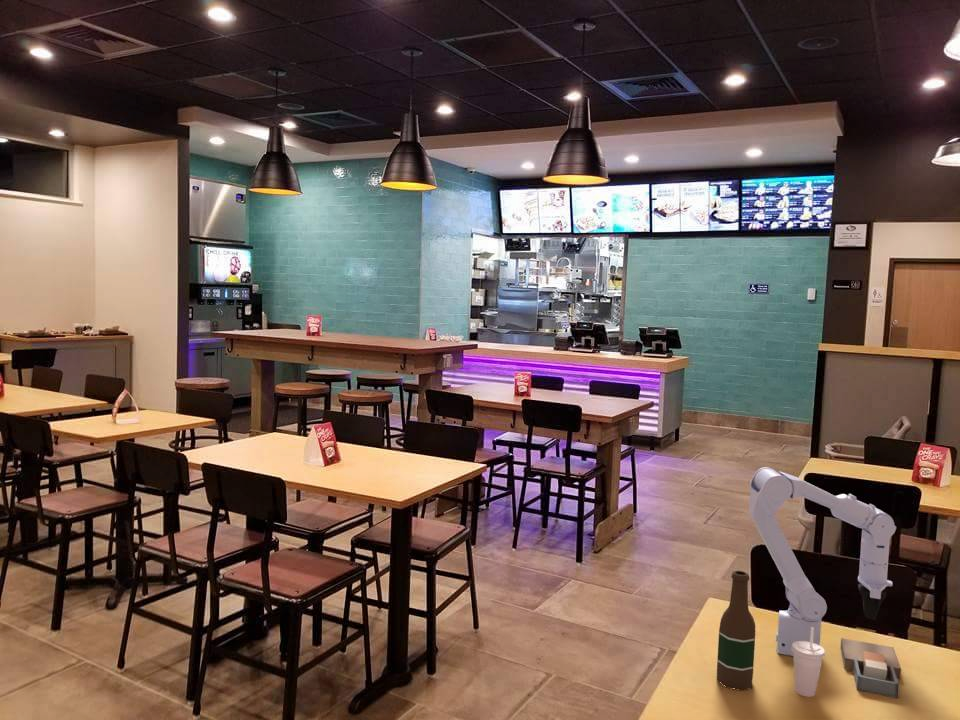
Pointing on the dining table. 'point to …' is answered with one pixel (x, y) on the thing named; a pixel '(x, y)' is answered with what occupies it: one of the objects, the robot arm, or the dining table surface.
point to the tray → (876, 682)
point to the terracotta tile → (872, 657)
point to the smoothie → (807, 665)
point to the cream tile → (875, 669)
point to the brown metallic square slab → (856, 648)
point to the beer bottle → (737, 638)
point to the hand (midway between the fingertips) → (870, 617)
